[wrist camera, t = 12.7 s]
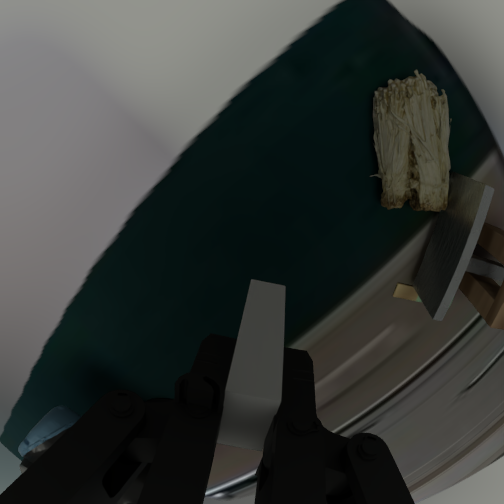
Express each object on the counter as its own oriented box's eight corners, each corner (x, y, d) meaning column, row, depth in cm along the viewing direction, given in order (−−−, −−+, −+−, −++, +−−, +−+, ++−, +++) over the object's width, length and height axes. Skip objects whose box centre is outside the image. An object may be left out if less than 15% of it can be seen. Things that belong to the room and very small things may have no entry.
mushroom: (447, 202, 31) (468, 216, 26) (371, 207, 33) (384, 222, 28) (440, 77, 26) (464, 72, 21) (360, 74, 27) (372, 65, 22)
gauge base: (392, 295, 36) (418, 349, 27) (426, 201, 31) (471, 233, 22) (465, 309, 36) (498, 357, 26) (500, 228, 31) (548, 262, 21)
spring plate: (412, 286, 34) (432, 319, 27) (452, 171, 28) (485, 184, 22) (472, 299, 33) (497, 330, 27) (512, 198, 28) (546, 215, 21)
